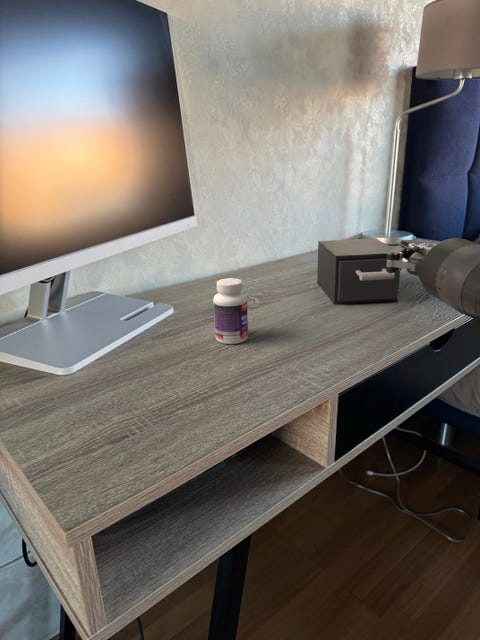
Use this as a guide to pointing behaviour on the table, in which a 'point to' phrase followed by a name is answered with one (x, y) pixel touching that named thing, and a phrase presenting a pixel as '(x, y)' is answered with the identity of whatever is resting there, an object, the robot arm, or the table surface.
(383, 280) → the dark drawer box
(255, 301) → the table surface
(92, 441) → the table surface
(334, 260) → the small drawer unit
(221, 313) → the pill bottle
